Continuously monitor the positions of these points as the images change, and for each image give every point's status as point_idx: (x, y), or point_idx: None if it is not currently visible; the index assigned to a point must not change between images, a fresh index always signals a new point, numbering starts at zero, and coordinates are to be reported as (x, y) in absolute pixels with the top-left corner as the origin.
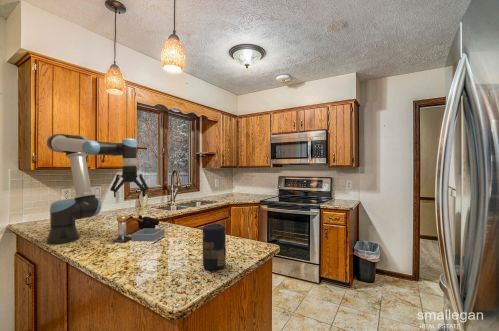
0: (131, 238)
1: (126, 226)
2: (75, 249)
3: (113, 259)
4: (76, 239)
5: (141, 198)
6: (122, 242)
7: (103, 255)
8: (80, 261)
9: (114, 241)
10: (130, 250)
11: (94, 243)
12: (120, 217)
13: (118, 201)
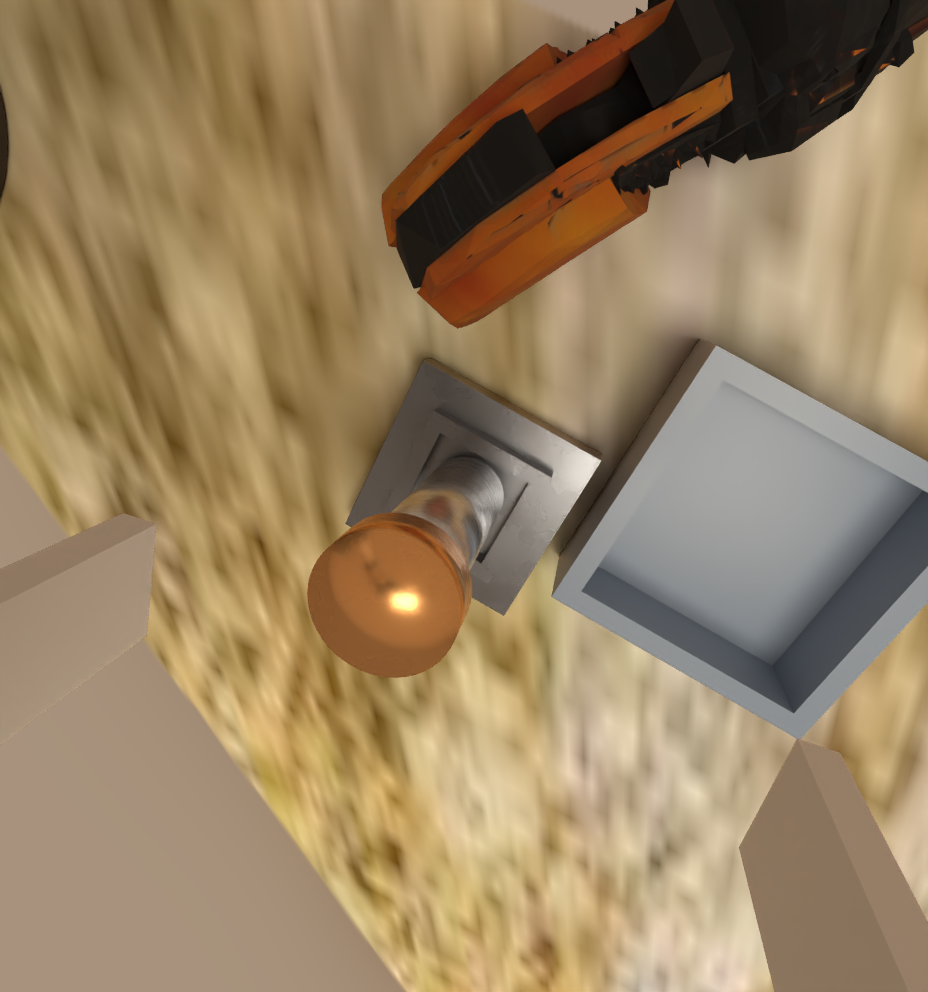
0: (555, 576)
1: (468, 307)
2: (133, 507)
3: (458, 870)
4: (2, 163)
5: (795, 989)
6: (476, 587)
7: (378, 760)
8: (267, 797)
9: None
10: (558, 751)
11: (220, 383)
12: (368, 662)
13: (124, 568)
